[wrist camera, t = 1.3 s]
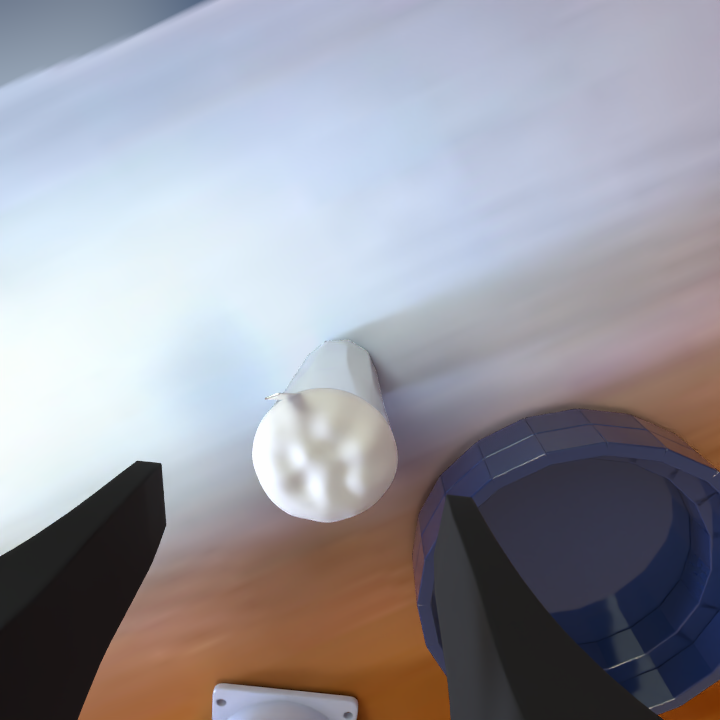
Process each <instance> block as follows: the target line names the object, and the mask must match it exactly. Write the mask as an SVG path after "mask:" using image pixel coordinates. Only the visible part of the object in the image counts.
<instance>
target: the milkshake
mask: <svg viewBox="0 0 720 720" xmlns="http://www.w3.org/2000/svg"><path fill="white" fill-rule="evenodd" d="M265 400H277V401H276V403H275V404H274V405H273V406H272V408H271V409H270V410H269V412H268V413H267V414H266V415H265V416H264V418H263V419H262V421H261V423H260V425H259V427H258V429H257V432H256V435H255V438H254V442H253V450H252V458H253V465H254V468H255V471H256V474H257V477H258V479H259V481H260V483H261V486H262V488H263V489H264V491H265V493H266V494H267V496H268V497H269V498H270V499H271V500H272V502H273V503H274V504H275V505H277V506H278V507H279V508H280V509H281V510H283V511H284V512H286V513H288V514H290V515H292V516H295V517H299V518H304V519H309V520H314V521H318V522H335V521H339V520H343V519H347V518H350V517H353V516H355V515H358V514H360V513H362V512H364V511H366V510H367V509H369V508H370V507H372V506H373V505H374V504H375V503H376V502H377V501H378V500H379V499H380V498H381V497H382V496H383V495H384V493H385V492H386V491H387V490H388V488H389V487H390V485H391V483H392V482H393V479H394V477H395V474H396V470H397V464H398V453H397V446H396V442H395V439H394V436H393V432H392V429H391V426H390V423H389V419H388V416H387V413H386V410H385V407H384V402H383V398H382V394H381V389H380V385H379V380H378V376H377V372H376V369H375V367H374V365H373V362H372V360H371V358H370V355H369V353H368V351H367V350H365V349H363V348H362V347H360V346H358V345H357V344H355V343H353V342H352V341H350V340H332V341H325V342H324V343H322V344H321V345H320V346H319V347H317V348H316V349H315V350H314V351H313V352H311V353H310V354H309V355H308V356H307V357H306V359H305V360H304V362H303V363H302V365H301V366H300V368H299V369H298V371H297V372H296V374H295V375H294V377H293V378H292V380H291V381H290V383H289V385H288V386H287V388H286V389H285V391H284V392H283V393H277V394H274V395H272V396H269V397H266V398H265Z"/></svg>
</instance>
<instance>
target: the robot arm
mask: <svg viewBox="0 0 720 720" xmlns="http://www.w3.org/2000/svg"><path fill="white" fill-rule="evenodd" d="M165 527H166V516H165V503H164V491H163V478H162V465H161V463H154V462H144V461H136V462H135V463H134V464H132V465H131V466H130V467H128V468H127V469H126V470H124V471H123V472H122V473H120V474H119V475H118V476H116V477H115V478H114V479H113V480H111V481H110V482H109V483H107V484H106V485H105V486H103V487H102V488H101V489H100V490H98V491H97V492H96V493H94V494H93V495H92V496H90V497H89V498H88V499H86V500H85V501H84V502H82V503H81V504H80V505H78V506H77V507H76V508H74V509H73V510H71V511H70V512H69V513H67V514H66V515H64V516H63V517H61V518H60V519H59V520H57V521H56V522H54V523H53V524H51V525H50V526H48V527H47V528H45V529H44V530H42V531H41V532H39V533H38V534H36V535H35V536H33V537H32V538H30V539H29V540H27V541H25V542H24V543H22V544H21V545H19V546H17V547H16V548H14V549H12V550H11V551H9V552H7V553H5V554H4V555H2V556H0V720H78V717H79V715H80V712H81V709H82V707H83V704H84V702H85V699H86V697H87V694H88V692H89V690H90V687H91V685H92V682H93V680H94V677H95V675H96V673H97V670H98V668H99V665H100V663H101V661H102V659H103V657H104V655H105V653H106V650H107V648H108V646H109V644H110V642H111V640H112V638H113V637H114V635H115V633H116V631H117V629H118V627H119V625H120V623H121V621H122V620H123V618H124V616H125V614H126V612H127V610H128V608H129V606H130V604H131V603H132V601H133V599H134V597H135V595H136V593H137V591H138V589H139V587H140V585H141V584H142V582H143V580H144V578H145V576H146V574H147V572H148V570H149V568H150V566H151V564H152V562H153V559H154V557H155V554H156V552H157V549H158V547H159V544H160V541H161V538H162V535H163V533H164V530H165ZM434 583H435V598H436V605H437V612H438V619H439V626H440V633H441V640H442V647H443V653H444V660H445V667H446V674H447V681H448V690H449V699H450V716H451V720H663V719H662V718H661V717H659V716H658V715H657V714H655V713H654V712H653V711H651V710H650V709H649V708H648V707H646V706H645V705H644V704H642V703H641V702H640V701H639V700H637V699H636V698H635V697H634V696H633V695H632V694H630V693H629V692H628V691H627V690H626V689H625V688H624V687H622V686H621V685H620V684H619V683H618V682H617V681H615V680H614V679H613V678H612V677H611V676H610V675H609V674H608V673H607V672H605V671H604V670H603V669H602V668H601V667H600V666H599V665H598V664H597V663H596V662H595V661H594V660H593V659H592V658H591V657H590V656H589V655H588V654H587V653H586V652H585V651H584V650H583V649H582V648H581V647H580V646H579V645H578V644H577V643H576V642H575V641H574V640H573V639H572V638H571V637H570V636H569V635H568V634H567V633H566V632H565V631H564V630H563V629H562V627H561V626H560V625H559V624H558V623H557V622H556V621H555V619H554V618H553V617H552V616H551V615H550V614H549V612H548V611H547V610H546V609H545V608H544V606H543V605H542V604H541V603H540V601H539V600H538V599H537V598H536V596H535V595H534V594H533V592H532V591H531V590H530V588H529V587H528V586H527V584H526V583H525V582H524V580H523V579H522V578H521V576H520V575H519V573H518V572H517V570H516V569H515V568H514V566H513V565H512V563H511V562H510V560H509V559H508V557H507V555H506V554H505V552H504V551H503V549H502V548H501V546H500V545H499V543H498V542H497V540H496V538H495V537H494V535H493V533H492V532H491V530H490V528H489V527H488V525H487V523H486V522H485V520H484V518H483V516H482V515H481V513H480V511H479V509H478V507H477V505H476V504H475V502H474V500H473V499H472V498H471V497H466V496H456V495H446V500H445V504H444V509H443V514H442V518H441V523H440V528H439V532H438V537H437V542H436V546H435V551H434ZM222 699H223V700H222ZM347 712H350V713H347ZM357 713H358V701H357V699H356V698H354V697H351V696H344V695H334V694H324V693H315V692H305V691H295V690H286V689H276V688H266V687H257V686H247V685H237V684H227V683H220V684H217V685H216V686H215V688H214V692H213V704H212V720H357Z"/></svg>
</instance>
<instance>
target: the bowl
mask: <svg viewBox="0 0 720 720" xmlns="http://www.w3.org/2000/svg"><path fill="white" fill-rule="evenodd" d="M446 495H456V496H466V497H471V498H472V499H473V500H474V502H475V504H476V505H477V507H478V509H479V511H480V513H481V515H482V516H483V518H484V520H485V522H486V523H487V525H488V527H489V528H490V530H491V532H492V533H493V535H494V537H495V538H496V540H497V542H498V543H499V545H500V546H501V548H502V549H503V551H504V552H505V554H506V555H507V557H508V559H509V560H510V562H511V563H512V565H513V566H514V568H515V569H516V570H517V572H518V573H519V575H520V576H521V578H522V579H523V580H524V582H525V583H526V584H527V586H528V587H529V588H530V590H531V591H532V592H533V594H534V595H535V596H536V598H537V599H538V600H539V601H540V603H541V604H542V605H543V606H544V608H545V609H546V610H547V611H548V612H549V614H550V615H551V616H552V617H553V618H554V619H555V621H556V622H557V623H558V624H559V625H560V626H561V627H562V629H563V630H564V631H565V632H566V633H567V634H568V635H569V636H570V637H571V638H572V639H573V640H574V641H575V642H576V643H577V644H578V645H579V646H580V647H581V648H582V649H583V650H584V651H585V652H586V653H587V654H588V655H589V656H590V657H591V658H592V659H593V660H594V661H595V662H596V663H597V664H598V665H599V666H600V667H601V668H602V669H603V670H604V671H605V672H607V673H608V674H609V675H610V676H611V677H612V678H613V679H614V680H615V681H617V682H618V683H619V684H620V685H621V686H622V687H624V688H625V689H626V690H627V691H628V692H629V693H630V694H632V695H633V696H634V697H635V698H636V699H637V700H639V701H640V702H641V703H642V704H644V705H645V706H646V707H648V708H649V709H650V710H651V711H653V712H654V713H655V714H657V715H659V714H662V713H664V712H667V711H670V710H672V709H675V708H678V707H680V706H682V705H683V704H685V703H686V702H688V701H689V700H690V699H692V698H693V697H695V696H696V695H698V694H699V693H701V692H702V691H704V690H705V689H707V688H708V687H710V686H711V685H713V684H714V683H715V682H717V681H718V680H720V472H719V471H718V470H717V469H716V468H715V467H713V466H712V465H711V464H710V463H709V462H707V461H706V460H705V459H704V458H703V457H702V456H700V455H699V454H698V453H697V452H696V451H694V450H693V449H692V448H691V447H690V446H689V445H687V444H686V443H685V442H684V441H683V440H682V439H680V438H679V437H678V436H677V435H675V434H674V433H672V432H669V431H667V430H665V429H663V428H660V427H658V426H656V425H654V424H651V423H649V422H647V421H645V420H642V419H640V418H638V417H636V416H633V415H630V414H625V413H616V412H606V411H597V410H588V409H571V410H566V411H560V412H555V413H549V414H544V415H538V416H533V417H527V418H525V419H521V420H519V421H517V422H515V423H513V424H511V425H509V426H507V427H505V428H503V429H501V430H499V431H497V432H495V433H493V434H491V435H489V436H487V437H485V438H483V439H481V440H479V441H478V442H476V443H475V444H474V445H473V446H472V447H470V448H469V449H468V450H467V451H466V452H465V453H464V454H463V455H462V456H461V457H460V458H459V459H458V460H456V461H455V462H454V463H453V464H452V465H451V466H450V467H449V468H448V469H447V470H446V471H445V472H443V473H442V475H440V477H439V479H438V480H437V482H436V484H435V486H434V488H433V489H432V491H431V493H430V495H429V497H428V498H427V500H426V502H425V504H424V506H423V507H422V509H421V511H420V513H419V516H418V522H417V528H416V534H415V541H414V547H413V553H412V558H413V569H414V579H415V589H416V600H417V607H418V612H419V616H420V621H421V625H422V630H423V634H424V639H425V643H426V646H427V648H428V650H429V651H430V653H431V654H432V656H433V657H434V658H435V660H436V661H437V663H438V664H439V666H440V667H441V669H442V670H443V672H444V673H445V675H446V676H447V674H446V667H445V660H444V653H443V647H442V640H441V633H440V626H439V619H438V612H437V605H436V598H435V583H434V551H435V546H436V542H437V537H438V532H439V528H440V523H441V518H442V514H443V509H444V504H445V500H446Z"/></svg>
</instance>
